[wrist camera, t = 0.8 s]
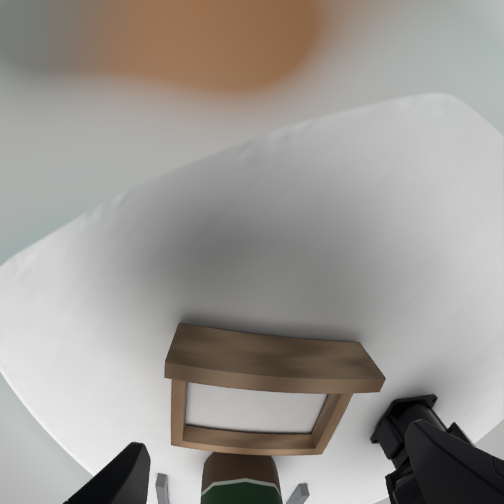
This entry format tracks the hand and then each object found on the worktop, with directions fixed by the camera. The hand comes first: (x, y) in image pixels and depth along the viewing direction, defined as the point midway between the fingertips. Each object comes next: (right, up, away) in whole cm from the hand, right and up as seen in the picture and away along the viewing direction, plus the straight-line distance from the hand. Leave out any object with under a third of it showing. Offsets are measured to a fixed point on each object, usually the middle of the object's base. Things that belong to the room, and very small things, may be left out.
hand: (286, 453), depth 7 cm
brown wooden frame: (0, -6, +14) cm, 16 cm away
